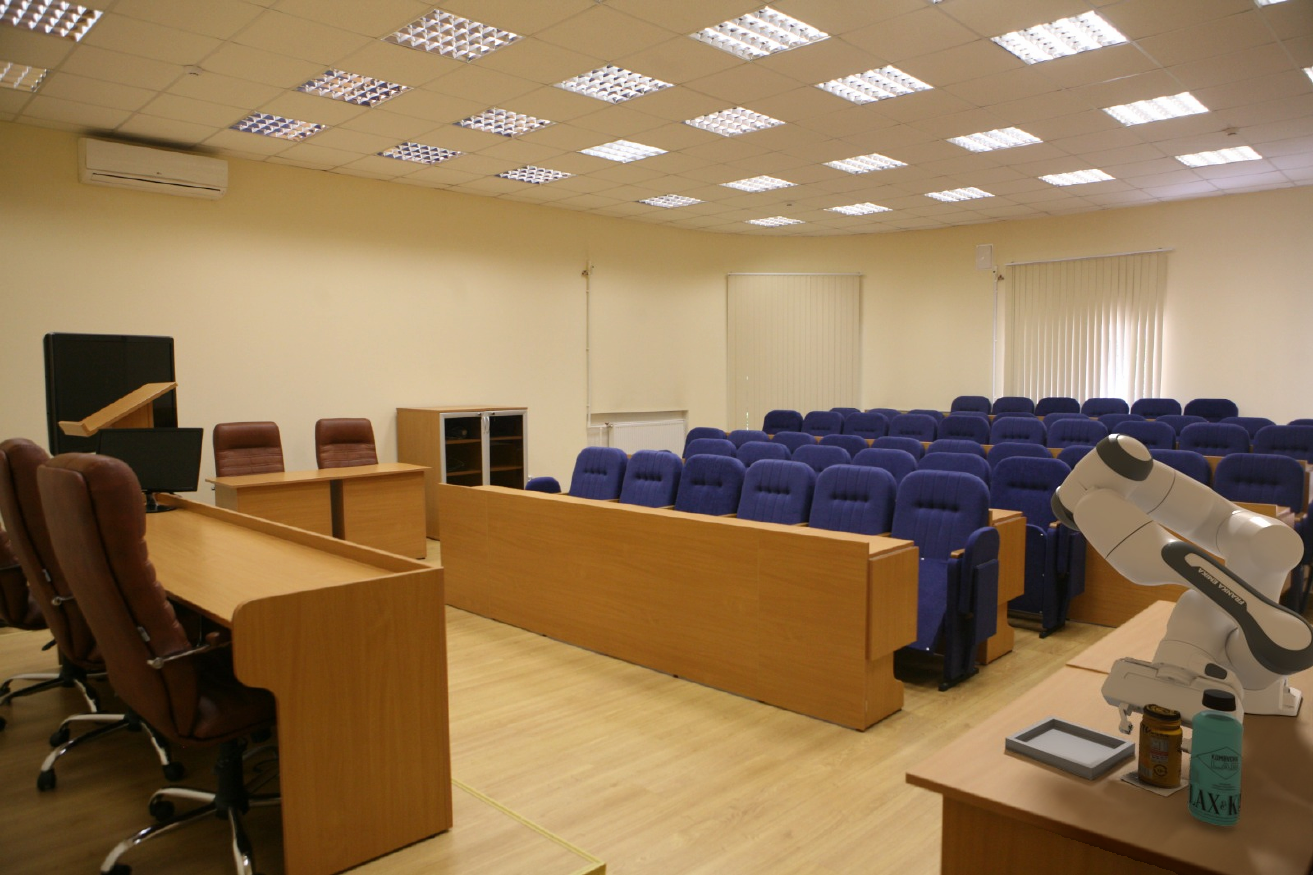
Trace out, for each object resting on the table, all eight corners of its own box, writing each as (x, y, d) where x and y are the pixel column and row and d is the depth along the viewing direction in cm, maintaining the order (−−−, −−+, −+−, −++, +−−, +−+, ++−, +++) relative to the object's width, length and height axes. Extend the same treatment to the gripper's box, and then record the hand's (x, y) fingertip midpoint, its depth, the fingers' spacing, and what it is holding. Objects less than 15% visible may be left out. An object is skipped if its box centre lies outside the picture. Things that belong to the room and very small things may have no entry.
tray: (1050, 726, 158) (1050, 715, 158) (1134, 753, 146) (1135, 742, 146) (1005, 748, 148) (1005, 737, 148) (1091, 780, 136) (1091, 768, 136)
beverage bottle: (1176, 814, 125) (1181, 684, 124) (1217, 812, 126) (1222, 683, 124) (1208, 838, 119) (1213, 701, 117) (1252, 836, 119) (1257, 699, 118)
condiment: (1192, 783, 135) (1194, 711, 134) (1166, 797, 130) (1168, 723, 130) (1145, 766, 141) (1147, 697, 140) (1119, 779, 136) (1121, 708, 136)
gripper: (1112, 644, 147) (1083, 711, 142) (1247, 676, 131) (1220, 754, 126) (1122, 664, 150) (1095, 730, 145) (1256, 697, 134) (1230, 774, 129)
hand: (1154, 741), depth 135 cm, fingers open, 8 cm apart
